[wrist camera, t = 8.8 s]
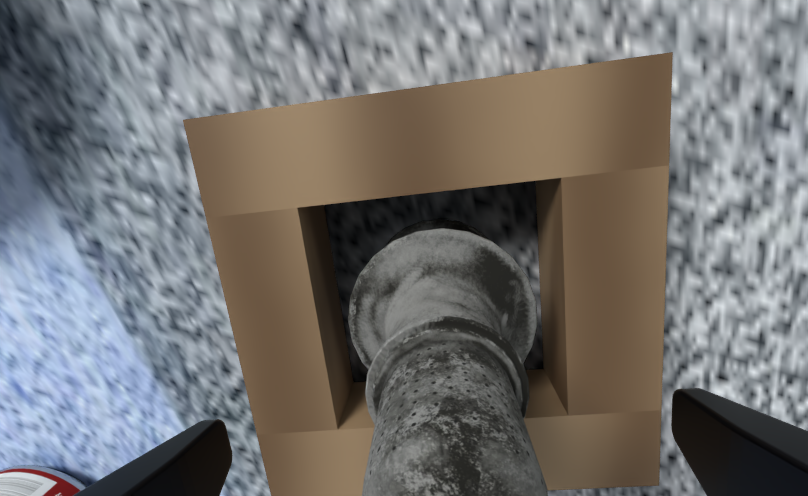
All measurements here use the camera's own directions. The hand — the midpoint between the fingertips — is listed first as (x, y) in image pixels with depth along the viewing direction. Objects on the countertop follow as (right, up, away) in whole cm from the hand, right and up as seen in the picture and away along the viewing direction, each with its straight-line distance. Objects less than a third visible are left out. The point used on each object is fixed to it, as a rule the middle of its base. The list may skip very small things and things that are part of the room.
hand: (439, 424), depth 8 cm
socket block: (+1, +2, +8) cm, 8 cm away
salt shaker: (+1, +2, +8) cm, 8 cm away
